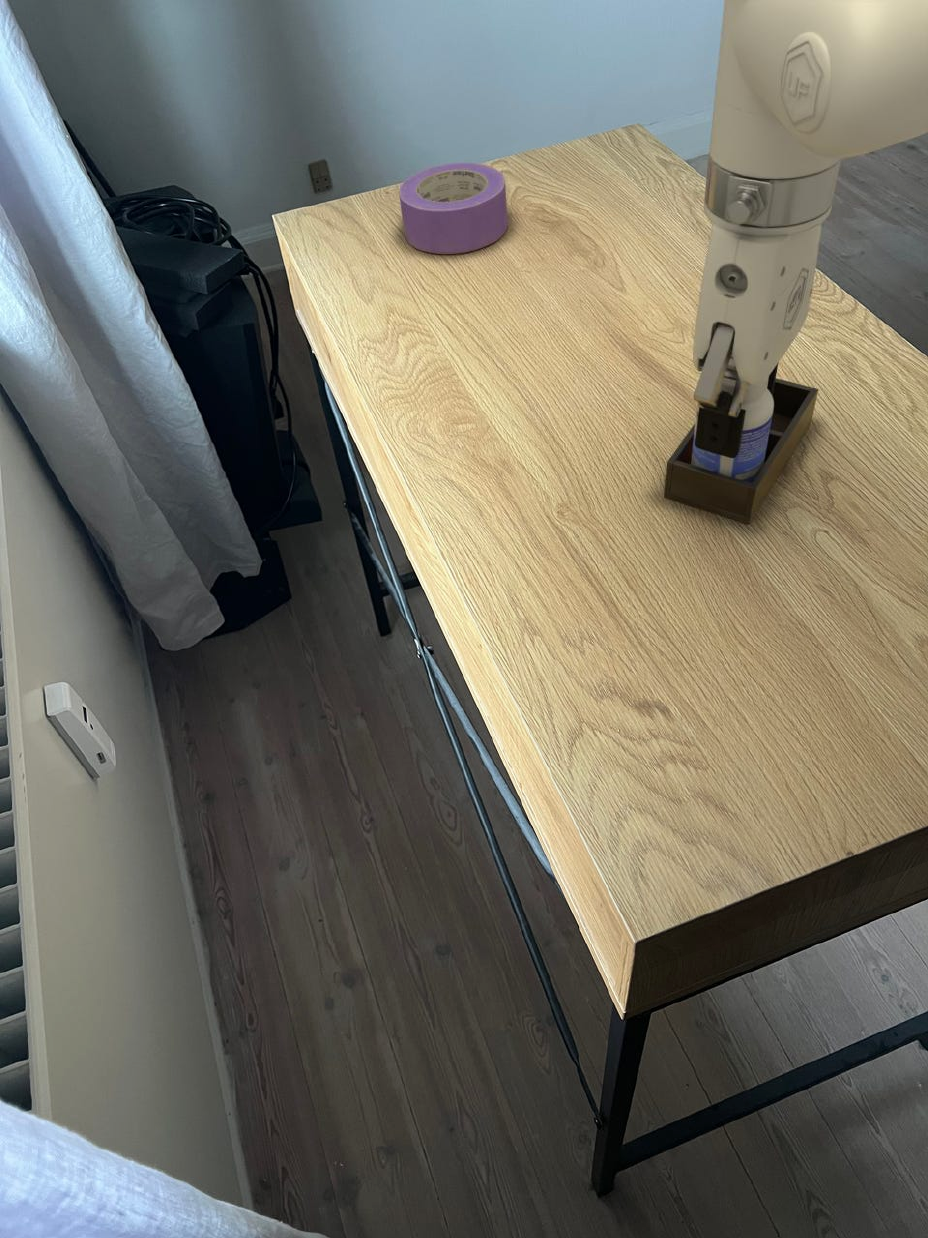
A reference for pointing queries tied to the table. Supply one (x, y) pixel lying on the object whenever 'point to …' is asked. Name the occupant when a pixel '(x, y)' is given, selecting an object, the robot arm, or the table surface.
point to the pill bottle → (743, 435)
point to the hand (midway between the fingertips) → (733, 425)
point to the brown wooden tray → (745, 497)
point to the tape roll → (454, 208)
